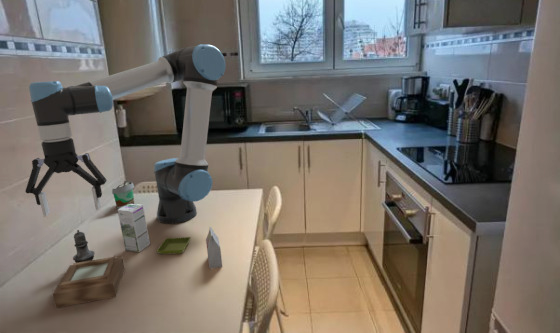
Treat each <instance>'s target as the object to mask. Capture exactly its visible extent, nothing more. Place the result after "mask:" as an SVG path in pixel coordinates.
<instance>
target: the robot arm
mask: <svg viewBox="0 0 560 333" xmlns="http://www.w3.org/2000/svg"><path fill="white" fill-rule="evenodd" d="M225 72H226V60H225V56H224V55H223V53H222V52H221V50H219V49H218V47H217V46H215V45H211V44H203V43H202V44H198V45H194V46H186V47H182V48H179V49H178V50H176V51H173V52H170V53H169V54H165V55H163V56H162V55H161V56H159V57H158V59H157V61H153V62H150V63H147V64H142V65H140V66H137V67H134V68H130V69H127V70H124V71H120V72H117V73H114V74H110V75H107V76H103V77H100V78H97V79H93V80H90V81H88V82H83V83H80V84H77V85H70V86H68V87H64V86H63V84H62V83H61V82H60V81H58V80H55V81H54V80H52V81H38V82H37V81H36V82H35V81H34V82H31V83H29V86H28V90H29V94H30V102H31V105H32V110H33V113H34V118H35V120H36V125H37V126H36V127H37V130H38V134H39V139H40V140H41V141H42V142H41V147H42V151H43V152H42V153H43V155H44V158H39V157H36V158H34V159H33V160H31V165H32V169H31V171H30V176H29V178H28V182H27V185H26V187H25V193H26V194H33V195H34V197H35V201H36V204H37V206H40V207H41V210H42V211H41V212H42V215H43V217H48V216H49V215H50V214H51V211H50V206H49V202H48V198H47V194H46V191H43V190H44V188H45V186H46V185H47V183H49V180H50V179H51V178H52V176H53V175H54V173H57V174H61V173H69V172H71V171H72V172H73V173H75V174H77V175H78V176H80V177H81V178H82V179H83V180H85V181H86V182H87V183H89V184H90V185H91V186H92V187H91V192H92V193H91V194H92V197H93V203H94V208H95V210H96V211H97V210H100V209H101V200H100V198H101V197H102V196H103V192H102V187H101V186H103V185H104V186H105V184H106V183H107V178H106V177H105V176H104V175H103V173H102V172H101V171H100V170H99V169H98V167H97V166H96V164H95V163H94V162H93V161H92V160H91V157H90V154H89V153H88V152H85V153H84V154H79V155H78V154H77V151H76V147H75V143H74V138H72V136H73V134H72V129H71V124H70V120H69V118H70V117H69V116H77V115H85V114H96V113H103V112H110V111H112V109H113V106H114V100H117V99H119V98H122V97H125V96H129V95H131V94H134V93H137V92H140V91H143V90H147V89H148V88H149V89H150V88H152V87H155V86H157V85H161V84H163V83H168V84H173V83H176V82H181V81H183V83H182V84H183V85H185V87H186V94H185V95H186V96H185V107H184V113H183V115H184V116H183V125H182V126H183V127H182V134H181V145H180V154H179V157H173V158H167V159H163V160H159V161H157V162H155V164H154V165H153V166H154V170H153V172H154V177H155V182H156V187H157V188H156V189H157V194H158V205H157V210H156V217H157V218H156V219H157V221H158V222H160V223H162V224H178V223H182V222H186V221H189V220H191V219H193V218H195V217H196V215H197V207H196V205H195V202H199V201H202V200H203V199H205V197H206V196H208V195H209V194H210V192H211V190H212V188H213V177H212V176H211V174H210V173H209V163H208V162H207V160H206V151H207V150H206V149H207V143H208V142H207V141H208V133H209V123H210V114H211V107H212V106H211V103H212V98H213V97H212V94H213V92H214V91H215V90H216V89H217V87H218V81H219V79H221V77H223V76H224V74H225ZM79 161H80V162H81V163H84V165H85V167H87V169H88V171H89V172H90V173H91V174H92V175H91V174H90V173H89V172H88V171H86V170H85V169H84V168H82V166H80V164H78V163H79ZM43 165H45V166H47V167H48V169H47V170H46V172H45V174H44V175H43V177H42V178H41V180H40V181H39V183H38V184H37V181H38V178H39V175H40V174H39V173H40V171H41V168H42V167H43ZM36 184H37V186H36ZM35 186H36V187H35Z"/></svg>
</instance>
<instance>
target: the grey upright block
mask: <svg viewBox="0 0 560 333" xmlns="http://www.w3.org/2000/svg"><path fill="white" fill-rule="evenodd" d="M219 239H220V238H219V237H218V234H216V232H215V231H214V230H213V228H212V227H209V229H208V233H207V237H206V239H205V244H206V251H207V259H208V261H207V262H208V266H209V269H216V268H222V267H223V260H222V252H221V250H222V249H221V245H220V240H219Z"/></svg>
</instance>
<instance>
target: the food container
mask: <svg viewBox="0 0 560 333" xmlns="http://www.w3.org/2000/svg"><path fill="white" fill-rule="evenodd" d="M134 188H135V185H134V183H133V182H132V181H131V180H124V181H123V183H122V184H120V185H118V186H117V187H116V188H112V189H111V192H112V194H113V198H114V202H115V206H116V210H117V211H118V209H120V208H121V207H123V206H125V205H127V204H135V198H134V197H135V196H134Z"/></svg>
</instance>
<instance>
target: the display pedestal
mask: <svg viewBox="0 0 560 333" xmlns="http://www.w3.org/2000/svg"><path fill="white" fill-rule="evenodd" d="M125 270H126V268H125V262H124V257H123V256H118V257H116V256H109V257H103V258H98V259H93V260H91V261H85V262H79V263H76V262H74V263H72V264H71V265H69V266H68V268H67V270H66V271H65V272H64V274H63V276H62V278H61V279H60V281H59V283H58V284H57V285H56V287H55V289H54V291H53V292H52V298H53V302H54V305H55V309H56V308H62V307H69V306H74V305H78V304H84V303H88V302H89V303H90V302H95V301H100V300H101V301H102V300H106V299H111V298H116V297H117V294H118V291H119V290H120V289H119V288H120V286H121V283H122V279H123V276H124V273H125Z"/></svg>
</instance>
